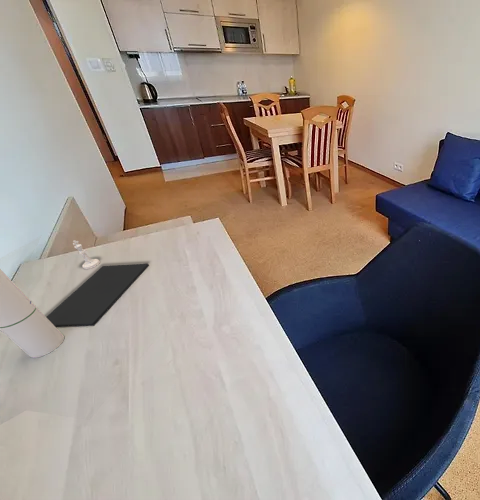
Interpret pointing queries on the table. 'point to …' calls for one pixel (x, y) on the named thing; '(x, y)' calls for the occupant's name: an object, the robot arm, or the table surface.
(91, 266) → the chess piece
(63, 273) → the table surface
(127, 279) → the mat
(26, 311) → the cylindrical container
